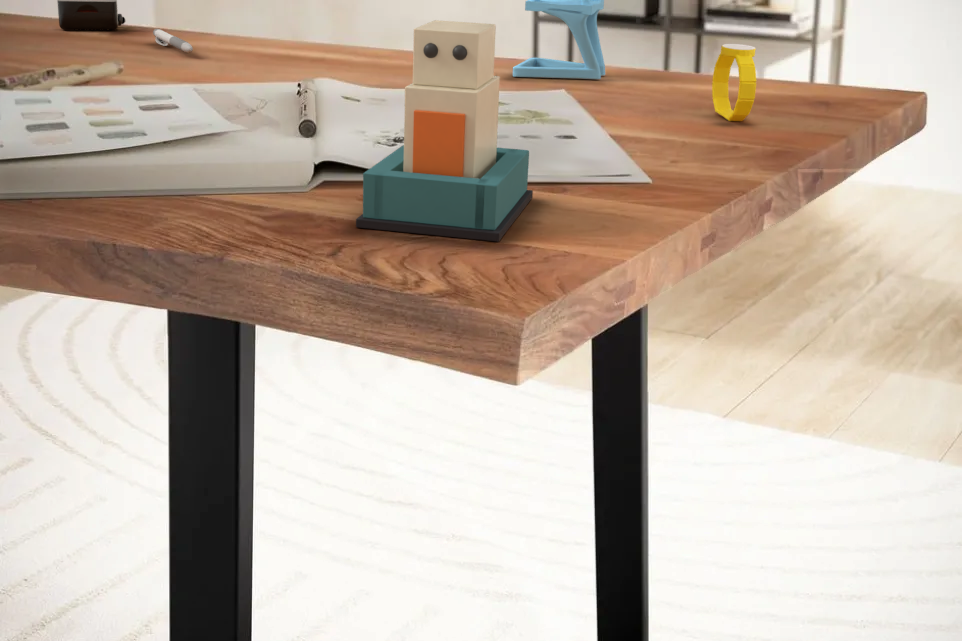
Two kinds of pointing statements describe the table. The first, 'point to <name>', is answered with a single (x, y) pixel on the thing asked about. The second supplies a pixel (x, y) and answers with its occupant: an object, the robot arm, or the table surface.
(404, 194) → the box
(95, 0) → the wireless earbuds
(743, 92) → the watch
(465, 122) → the toy robot
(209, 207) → the table surface
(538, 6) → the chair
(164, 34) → the pen
